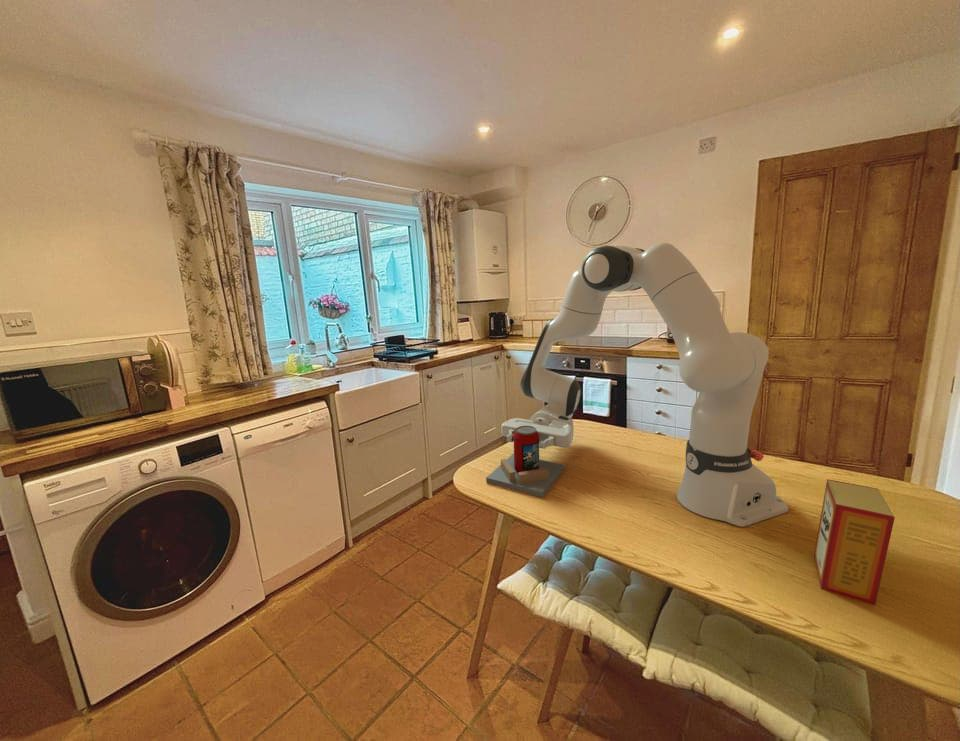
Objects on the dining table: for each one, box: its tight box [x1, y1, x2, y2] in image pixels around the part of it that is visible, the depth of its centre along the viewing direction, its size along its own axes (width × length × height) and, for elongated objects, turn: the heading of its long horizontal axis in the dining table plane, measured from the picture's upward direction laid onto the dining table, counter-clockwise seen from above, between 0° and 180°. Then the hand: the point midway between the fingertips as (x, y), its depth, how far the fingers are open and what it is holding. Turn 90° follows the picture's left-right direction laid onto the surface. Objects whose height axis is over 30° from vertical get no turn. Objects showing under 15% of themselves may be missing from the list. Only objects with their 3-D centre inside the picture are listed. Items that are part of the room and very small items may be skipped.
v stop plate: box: [485, 453, 566, 499], centre depth 106 cm, size 16×16×4 cm
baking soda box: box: [813, 478, 895, 606], centre depth 66 cm, size 10×6×16 cm
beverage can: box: [513, 426, 540, 472], centre depth 105 cm, size 7×7×12 cm
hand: (525, 442), depth 104 cm, fingers open, 8 cm apart
